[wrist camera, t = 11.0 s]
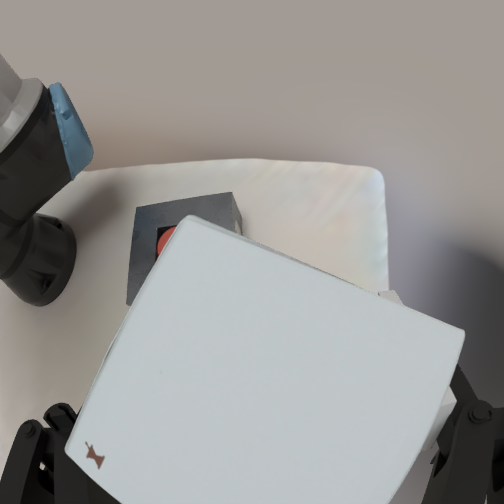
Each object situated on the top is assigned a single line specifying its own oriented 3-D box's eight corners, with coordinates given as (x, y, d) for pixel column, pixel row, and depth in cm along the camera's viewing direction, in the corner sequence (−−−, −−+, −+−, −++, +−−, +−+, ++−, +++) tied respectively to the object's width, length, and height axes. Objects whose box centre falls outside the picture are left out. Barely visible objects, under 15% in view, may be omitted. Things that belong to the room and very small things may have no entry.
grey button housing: (150, 314, 35) (126, 304, 30) (156, 228, 40) (136, 207, 34) (247, 309, 34) (236, 297, 28) (243, 217, 38) (233, 191, 33)
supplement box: (308, 465, 14) (309, 599, 3) (201, 412, 16) (51, 448, 5) (364, 360, 16) (478, 329, 5) (256, 311, 18) (178, 203, 7)
